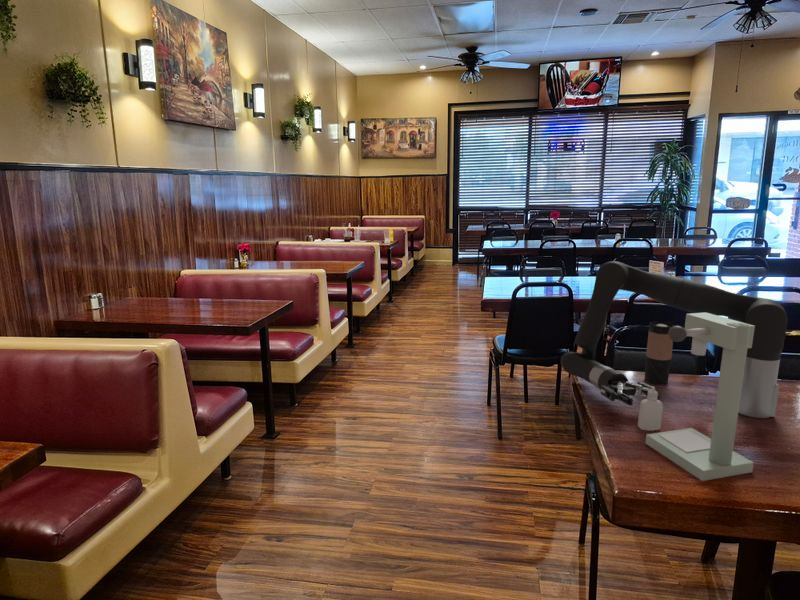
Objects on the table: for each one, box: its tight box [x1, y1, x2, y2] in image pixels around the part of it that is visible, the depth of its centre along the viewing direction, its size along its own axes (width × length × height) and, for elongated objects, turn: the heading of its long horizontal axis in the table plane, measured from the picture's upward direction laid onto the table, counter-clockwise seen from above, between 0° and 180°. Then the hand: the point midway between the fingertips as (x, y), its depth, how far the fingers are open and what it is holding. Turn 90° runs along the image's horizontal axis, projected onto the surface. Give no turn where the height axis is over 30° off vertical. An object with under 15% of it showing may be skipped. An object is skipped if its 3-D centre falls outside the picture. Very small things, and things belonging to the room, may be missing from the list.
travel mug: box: [644, 321, 675, 385], centre depth 171 cm, size 8×8×20 cm
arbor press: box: [645, 312, 755, 482], centre depth 120 cm, size 18×20×35 cm
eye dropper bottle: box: [637, 386, 664, 432], centre depth 138 cm, size 4×6×12 cm
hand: (645, 400), depth 140 cm, fingers open, 8 cm apart
